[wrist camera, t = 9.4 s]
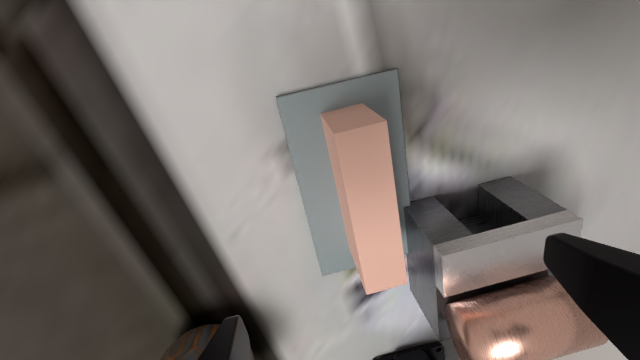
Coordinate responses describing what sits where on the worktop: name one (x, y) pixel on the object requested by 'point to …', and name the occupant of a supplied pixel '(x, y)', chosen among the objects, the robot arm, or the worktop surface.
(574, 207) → the worktop surface
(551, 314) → the dispenser
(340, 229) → the mat
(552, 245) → the robot arm
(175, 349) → the vase
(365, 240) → the salmon pink rectangular block
